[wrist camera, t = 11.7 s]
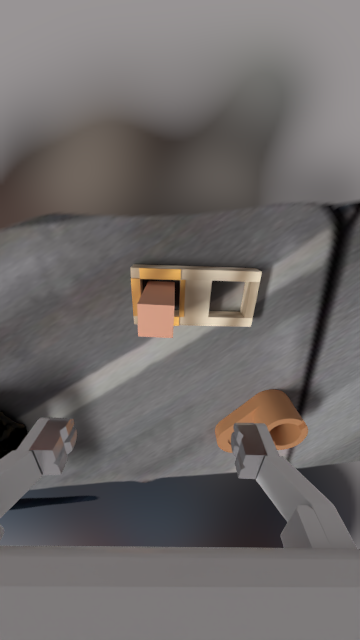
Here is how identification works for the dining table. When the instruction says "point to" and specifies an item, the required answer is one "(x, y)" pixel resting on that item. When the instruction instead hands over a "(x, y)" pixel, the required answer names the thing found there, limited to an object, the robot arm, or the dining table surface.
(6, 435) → the pottery vessel
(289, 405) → the bracket
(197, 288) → the peg board
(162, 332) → the terracotta peg
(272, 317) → the dining table surface
